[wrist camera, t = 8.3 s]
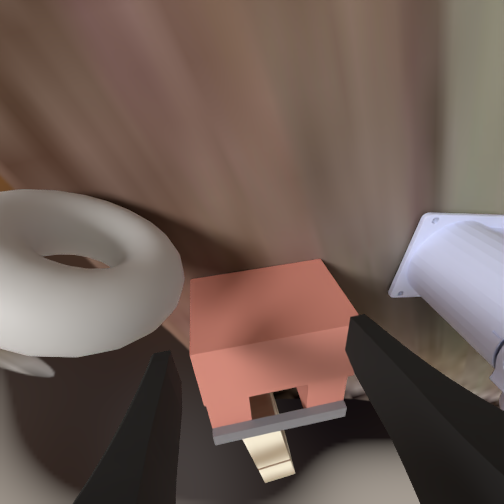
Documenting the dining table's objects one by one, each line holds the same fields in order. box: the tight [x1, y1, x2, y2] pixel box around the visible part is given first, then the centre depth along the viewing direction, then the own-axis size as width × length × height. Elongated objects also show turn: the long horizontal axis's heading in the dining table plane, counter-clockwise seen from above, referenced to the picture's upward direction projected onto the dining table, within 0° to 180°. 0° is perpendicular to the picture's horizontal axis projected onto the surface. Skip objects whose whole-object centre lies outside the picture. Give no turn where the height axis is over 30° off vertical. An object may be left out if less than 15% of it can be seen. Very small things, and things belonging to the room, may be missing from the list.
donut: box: [0, 189, 185, 357], centre depth 13 cm, size 10×4×10 cm, turn 64°
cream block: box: [243, 392, 295, 483], centre depth 28 cm, size 12×3×6 cm, turn 13°
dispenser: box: [190, 259, 359, 445], centre depth 22 cm, size 10×10×7 cm
